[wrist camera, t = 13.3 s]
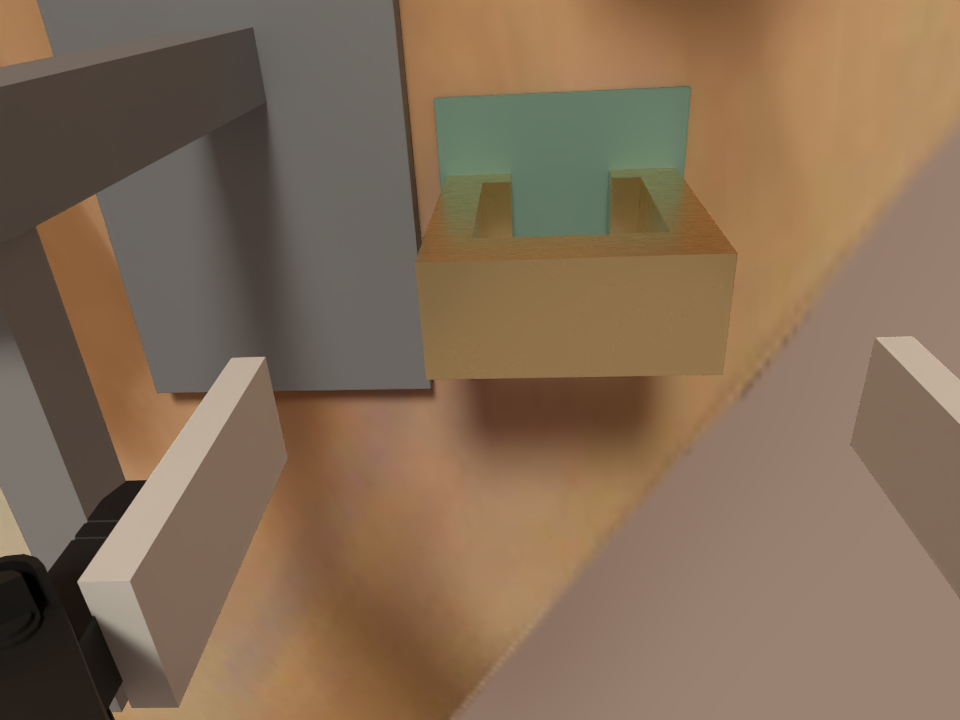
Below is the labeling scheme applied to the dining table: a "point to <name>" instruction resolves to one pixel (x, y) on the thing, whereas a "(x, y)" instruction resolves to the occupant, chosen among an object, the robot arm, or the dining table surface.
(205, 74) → the stand
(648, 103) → the mat
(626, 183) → the c link
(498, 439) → the dining table surface
